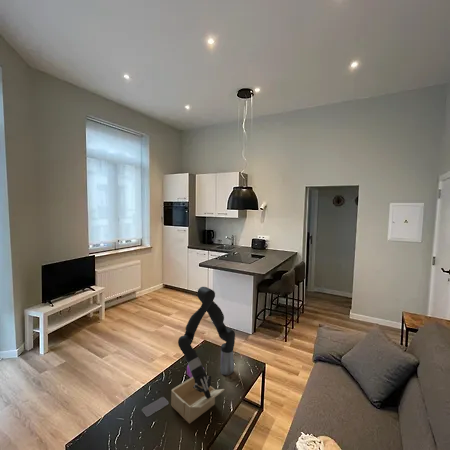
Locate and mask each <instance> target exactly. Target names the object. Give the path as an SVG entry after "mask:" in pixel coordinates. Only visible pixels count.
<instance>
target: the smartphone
mask: <svg viewBox="0 0 450 450" xmlns="http://www.w3.org/2000/svg"><path fill="white" fill-rule="evenodd" d="M168 405H169V401H168V400H167V399H166V398H165V397H164V396H161V397H160V398H158V399H157V400H155V401H153V402H151V403H150V404H148V405H146V406H144V407H143V408H142V409H141V412H142V413H143V414H144V415H145V417H147V418H148V417H150V416H152V415H154V414H155V413H157V412H159V411H160V410H162V409H164V408H165V407H168Z"/></svg>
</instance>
